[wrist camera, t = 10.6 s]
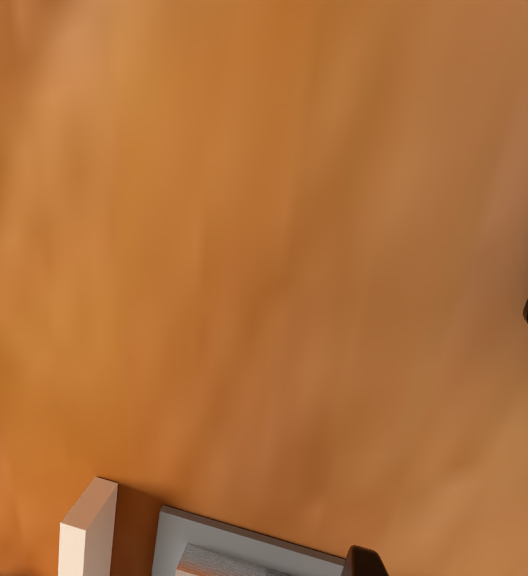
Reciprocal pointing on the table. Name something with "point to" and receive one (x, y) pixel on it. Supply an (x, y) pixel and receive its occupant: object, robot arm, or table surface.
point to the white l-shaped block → (89, 532)
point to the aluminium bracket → (218, 564)
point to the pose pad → (233, 546)
